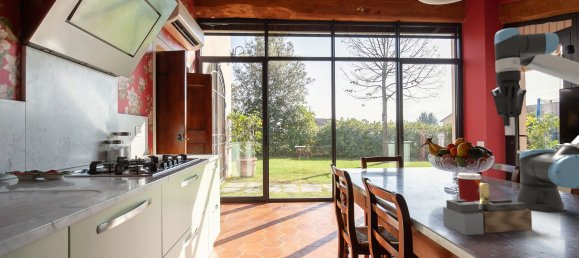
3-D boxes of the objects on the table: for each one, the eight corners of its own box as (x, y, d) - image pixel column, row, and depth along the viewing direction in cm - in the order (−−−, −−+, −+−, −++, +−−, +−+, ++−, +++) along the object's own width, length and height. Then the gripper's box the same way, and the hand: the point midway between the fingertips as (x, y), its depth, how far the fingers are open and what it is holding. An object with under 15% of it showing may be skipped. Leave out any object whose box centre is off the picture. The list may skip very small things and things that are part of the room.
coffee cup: (487, 217, 107) (486, 175, 108) (462, 216, 109) (460, 175, 109) (477, 211, 116) (476, 172, 116) (454, 211, 117) (453, 172, 118)
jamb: (460, 224, 100) (459, 198, 100) (483, 234, 90) (482, 205, 90) (443, 225, 99) (442, 199, 99) (465, 235, 89) (464, 206, 89)
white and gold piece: (485, 206, 97) (484, 182, 97) (492, 209, 94) (492, 184, 94) (460, 208, 96) (459, 183, 96) (466, 210, 93) (466, 185, 93)
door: (509, 222, 101) (508, 198, 101) (532, 229, 93) (531, 203, 93) (466, 225, 99) (465, 200, 99) (485, 232, 91) (484, 206, 91)
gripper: (500, 68, 107) (502, 135, 106) (532, 69, 109) (535, 134, 108) (484, 73, 114) (486, 135, 114) (514, 73, 116) (516, 134, 116)
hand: (510, 134), depth 111 cm, fingers closed
